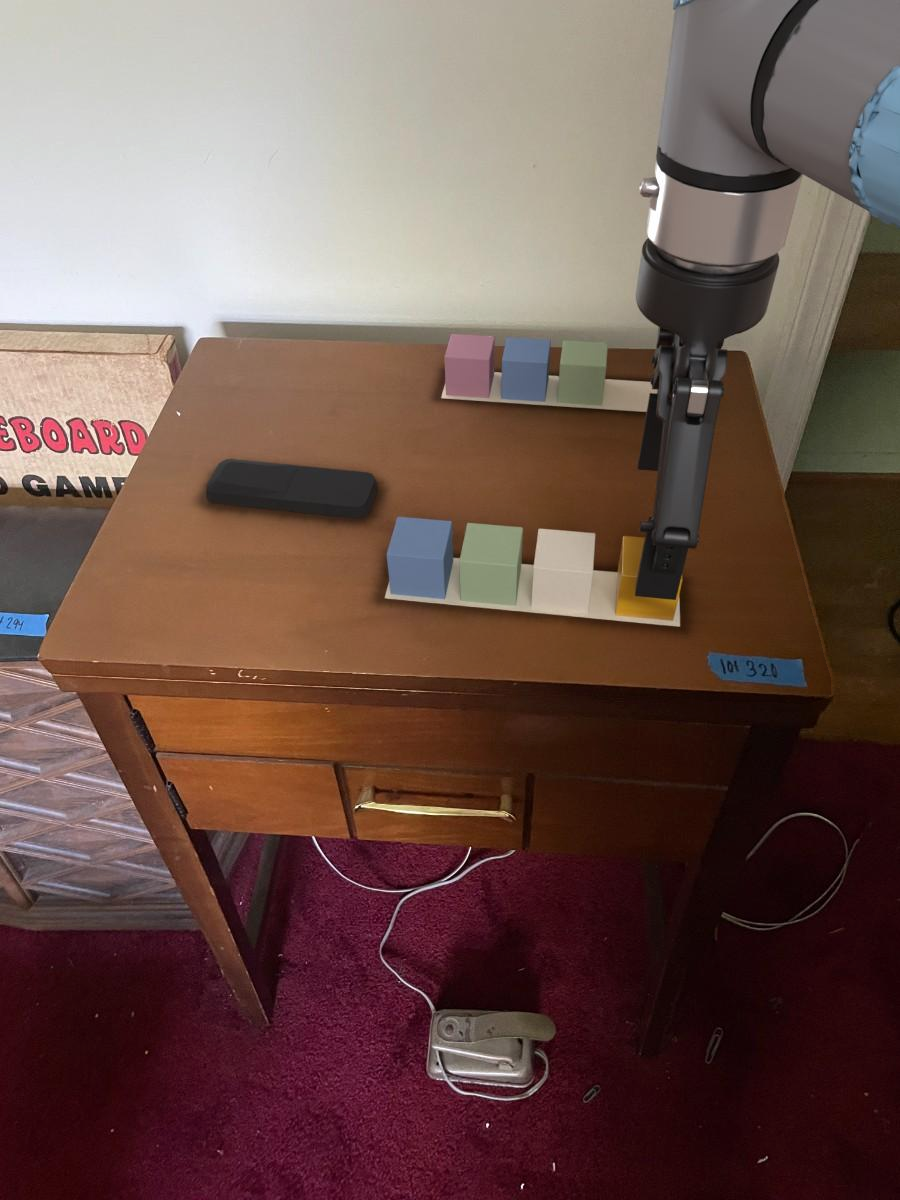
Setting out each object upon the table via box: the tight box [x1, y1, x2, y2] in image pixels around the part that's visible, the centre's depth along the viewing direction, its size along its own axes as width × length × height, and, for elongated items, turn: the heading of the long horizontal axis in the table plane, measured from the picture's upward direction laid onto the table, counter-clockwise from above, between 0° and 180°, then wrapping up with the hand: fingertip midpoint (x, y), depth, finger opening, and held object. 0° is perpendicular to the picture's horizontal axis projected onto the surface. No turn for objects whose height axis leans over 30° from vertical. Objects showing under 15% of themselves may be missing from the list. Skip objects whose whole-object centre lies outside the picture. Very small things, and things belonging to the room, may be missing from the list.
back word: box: [440, 333, 657, 413], centre depth 89 cm, size 23×5×4 cm, turn 81°
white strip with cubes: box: [384, 516, 681, 627], centre depth 70 cm, size 23×5×4 cm, turn 81°
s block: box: [615, 535, 683, 621], centre depth 69 cm, size 4×4×4 cm
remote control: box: [205, 458, 379, 519], centre depth 80 cm, size 5×2×15 cm
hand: (655, 527), depth 65 cm, fingers open, 13 cm apart
